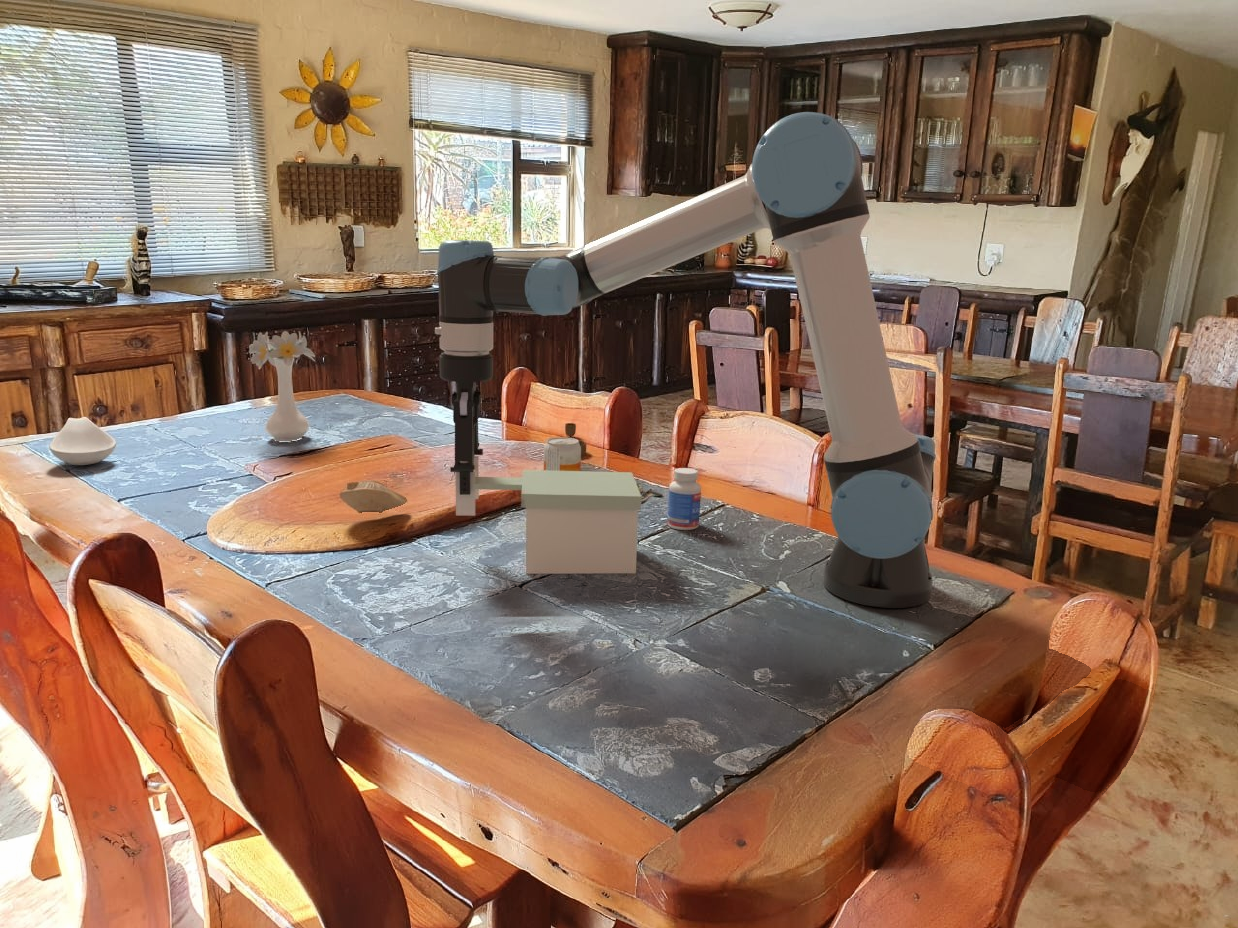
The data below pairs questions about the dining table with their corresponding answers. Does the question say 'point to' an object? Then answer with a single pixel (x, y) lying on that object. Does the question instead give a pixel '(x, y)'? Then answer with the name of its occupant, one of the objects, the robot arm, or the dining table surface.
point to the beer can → (562, 454)
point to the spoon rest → (82, 443)
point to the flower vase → (283, 382)
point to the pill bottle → (684, 500)
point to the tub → (581, 540)
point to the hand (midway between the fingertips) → (467, 506)
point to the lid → (569, 489)
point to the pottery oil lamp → (371, 497)
